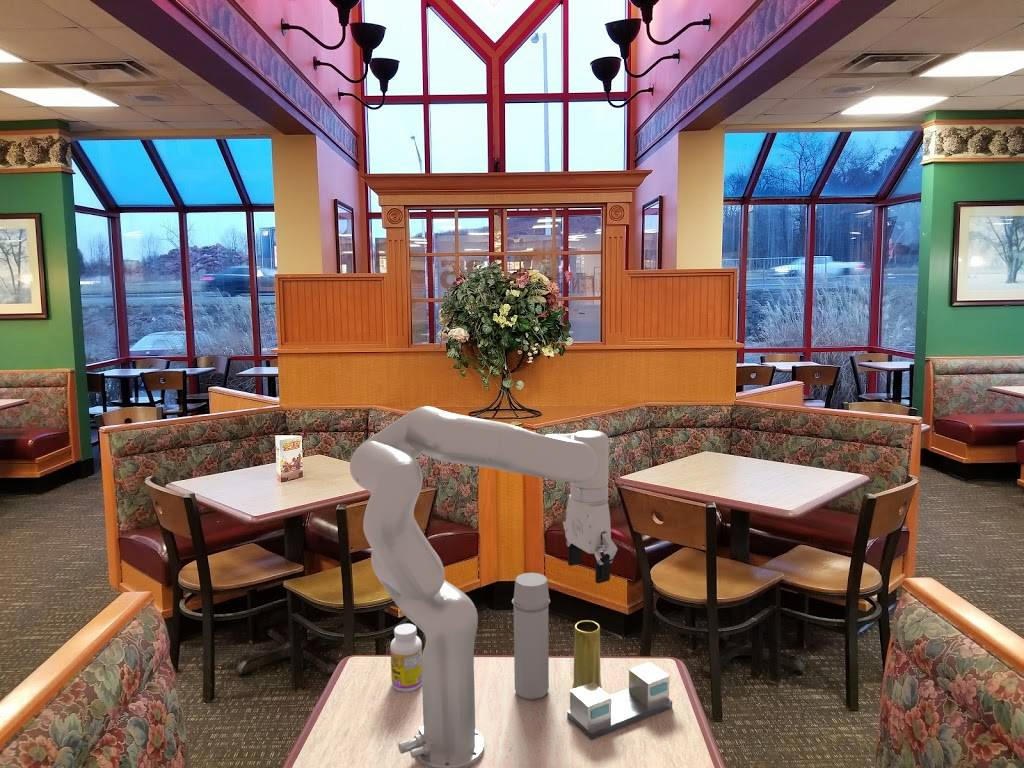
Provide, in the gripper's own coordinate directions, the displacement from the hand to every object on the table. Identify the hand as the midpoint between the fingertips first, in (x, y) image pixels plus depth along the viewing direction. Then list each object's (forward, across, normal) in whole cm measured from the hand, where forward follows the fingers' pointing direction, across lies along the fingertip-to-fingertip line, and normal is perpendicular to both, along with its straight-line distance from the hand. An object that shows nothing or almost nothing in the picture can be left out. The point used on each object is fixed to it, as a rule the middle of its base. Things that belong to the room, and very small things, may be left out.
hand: (588, 572), depth 150 cm
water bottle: (+26, -6, -10) cm, 29 cm away
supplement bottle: (+26, -21, -32) cm, 47 cm away
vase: (+26, 0, 0) cm, 26 cm away
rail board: (+26, +10, +1) cm, 28 cm away
